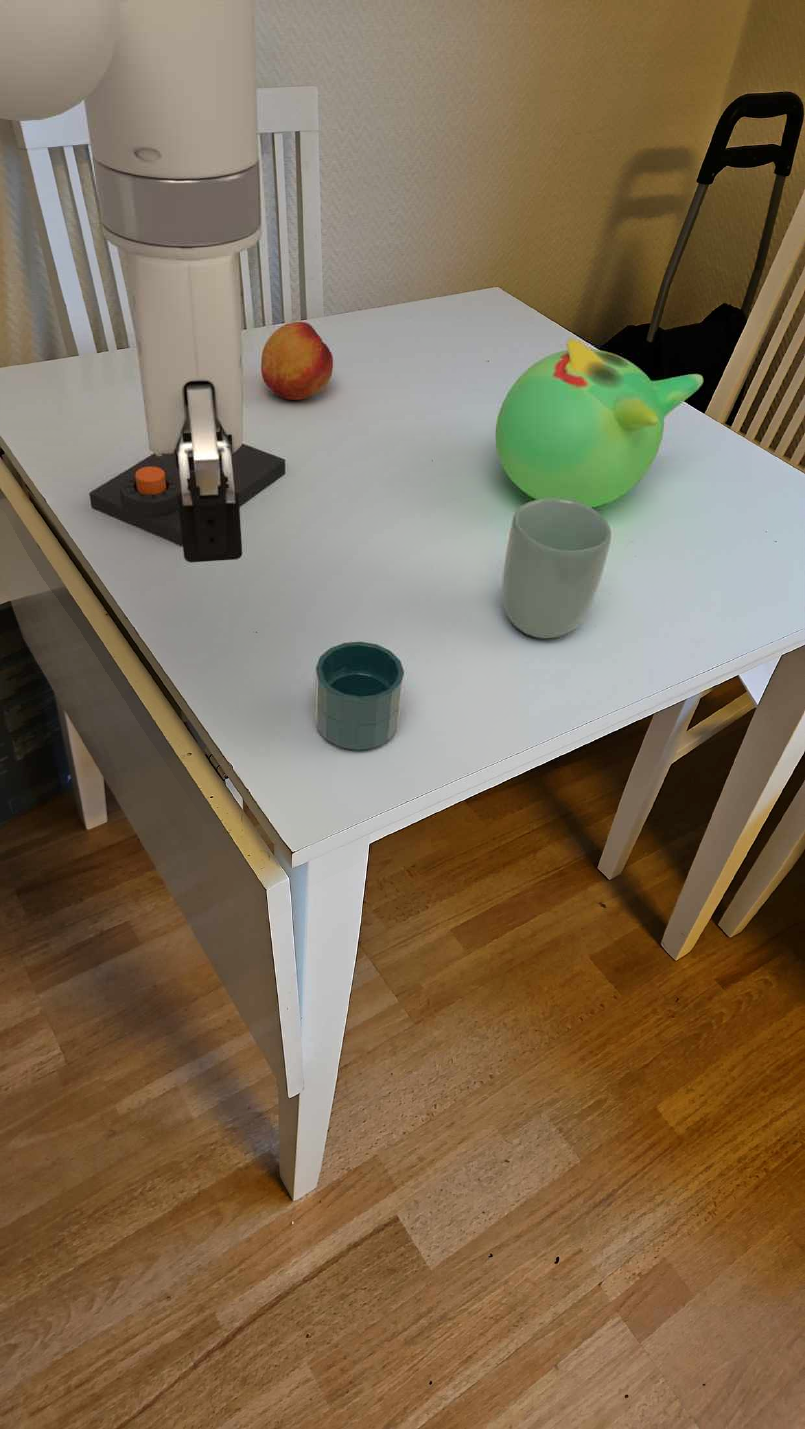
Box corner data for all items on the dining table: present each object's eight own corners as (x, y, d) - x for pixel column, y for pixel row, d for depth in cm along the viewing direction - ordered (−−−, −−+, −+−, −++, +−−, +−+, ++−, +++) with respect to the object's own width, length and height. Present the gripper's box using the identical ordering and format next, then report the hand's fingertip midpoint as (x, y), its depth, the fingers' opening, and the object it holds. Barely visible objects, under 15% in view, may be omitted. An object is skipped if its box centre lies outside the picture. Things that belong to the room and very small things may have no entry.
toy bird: (529, 433, 107) (554, 300, 96) (674, 480, 102) (716, 345, 92) (459, 505, 95) (479, 362, 85) (619, 562, 90) (661, 417, 80)
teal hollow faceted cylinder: (322, 758, 69) (324, 703, 65) (309, 699, 73) (310, 645, 70) (405, 749, 70) (411, 695, 67) (388, 692, 75) (393, 638, 71)
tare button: (153, 499, 86) (151, 484, 85) (131, 490, 87) (129, 475, 86) (172, 487, 88) (170, 472, 87) (150, 478, 89) (148, 463, 88)
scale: (183, 548, 86) (180, 518, 84) (89, 508, 90) (84, 478, 87) (285, 473, 97) (285, 444, 94) (198, 440, 100) (196, 411, 98)
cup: (553, 587, 86) (576, 490, 79) (602, 639, 82) (631, 540, 75) (479, 605, 84) (495, 507, 77) (525, 660, 79) (547, 560, 72)
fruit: (336, 412, 107) (338, 341, 101) (263, 412, 106) (261, 340, 100) (329, 380, 112) (331, 311, 107) (260, 379, 111) (258, 310, 105)
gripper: (100, 145, 50) (140, 440, 62) (95, 269, 38) (146, 604, 50) (243, 147, 52) (256, 435, 64) (281, 268, 40) (288, 594, 52)
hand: (207, 510), depth 57 cm, fingers open, 9 cm apart
